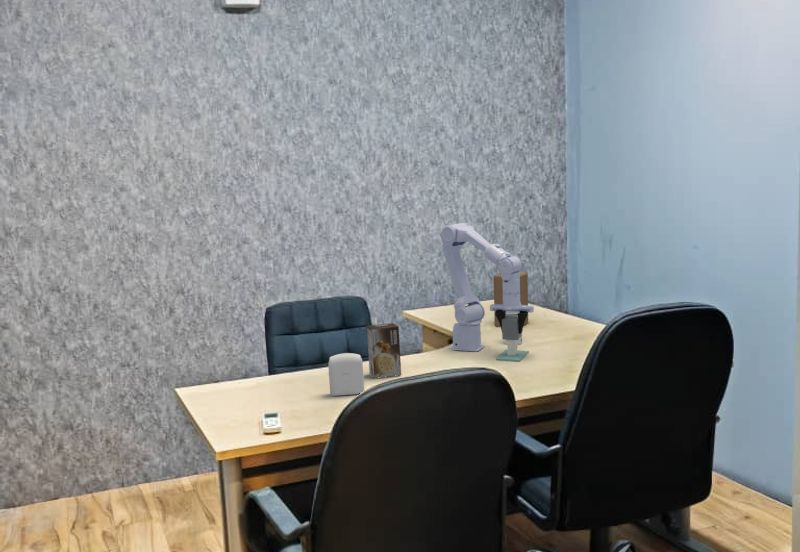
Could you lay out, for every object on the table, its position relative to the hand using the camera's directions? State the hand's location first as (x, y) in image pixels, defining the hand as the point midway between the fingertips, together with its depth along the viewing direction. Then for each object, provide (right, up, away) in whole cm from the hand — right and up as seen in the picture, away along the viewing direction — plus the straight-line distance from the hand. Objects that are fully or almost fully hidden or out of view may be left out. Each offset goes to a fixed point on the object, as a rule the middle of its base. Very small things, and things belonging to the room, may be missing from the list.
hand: (512, 332), depth 315 cm
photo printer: (-53, -16, -34) cm, 65 cm away
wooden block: (+6, 0, +48) cm, 49 cm away
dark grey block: (0, -2, 0) cm, 2 cm away
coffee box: (-42, -13, -15) cm, 47 cm away
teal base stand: (0, -8, +1) cm, 8 cm away
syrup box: (+3, -5, +21) cm, 21 cm away
